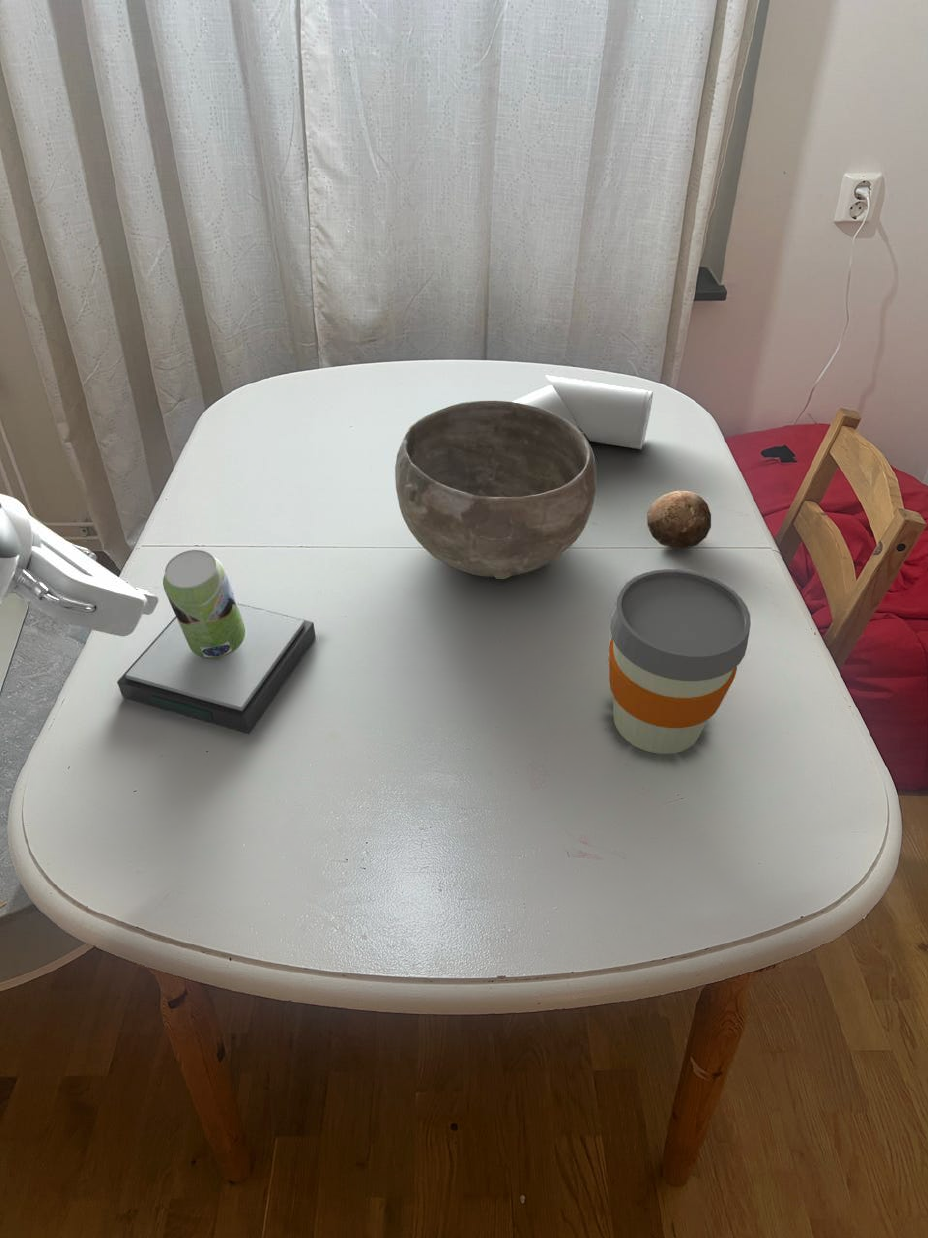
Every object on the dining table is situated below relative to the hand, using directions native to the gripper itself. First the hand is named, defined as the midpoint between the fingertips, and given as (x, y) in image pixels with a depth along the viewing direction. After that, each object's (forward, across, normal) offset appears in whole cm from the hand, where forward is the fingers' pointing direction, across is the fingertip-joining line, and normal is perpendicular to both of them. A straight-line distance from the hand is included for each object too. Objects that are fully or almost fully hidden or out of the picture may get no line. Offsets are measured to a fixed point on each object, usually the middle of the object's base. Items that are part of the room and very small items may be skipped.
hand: (119, 581), depth 78 cm
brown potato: (+54, -27, -31) cm, 68 cm away
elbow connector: (+63, -4, -39) cm, 74 cm away
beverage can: (+15, 0, +5) cm, 16 cm away
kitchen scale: (+17, 0, +6) cm, 18 cm away
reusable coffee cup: (+34, -41, -10) cm, 54 cm away
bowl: (+42, -10, -18) cm, 47 cm away
